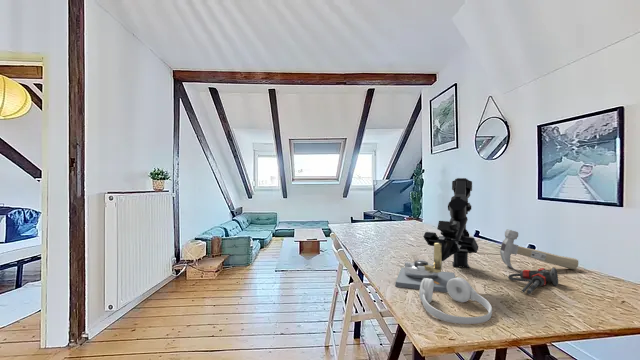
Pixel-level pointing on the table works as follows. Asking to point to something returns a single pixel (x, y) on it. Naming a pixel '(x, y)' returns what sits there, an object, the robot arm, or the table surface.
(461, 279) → the headphones
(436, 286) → the housing plate
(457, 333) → the table surface
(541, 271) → the valve
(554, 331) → the table surface
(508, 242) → the hammer
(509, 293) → the table surface
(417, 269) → the brass lever assembly
